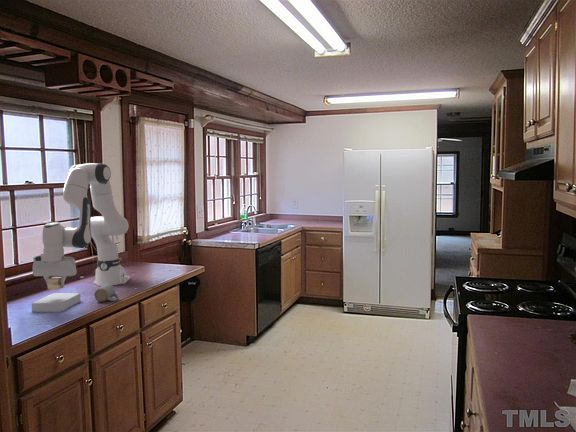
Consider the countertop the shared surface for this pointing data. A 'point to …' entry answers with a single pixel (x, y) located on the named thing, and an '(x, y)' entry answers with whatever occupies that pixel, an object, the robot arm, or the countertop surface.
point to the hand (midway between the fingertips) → (55, 285)
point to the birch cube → (54, 283)
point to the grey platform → (56, 302)
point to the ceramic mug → (106, 293)
